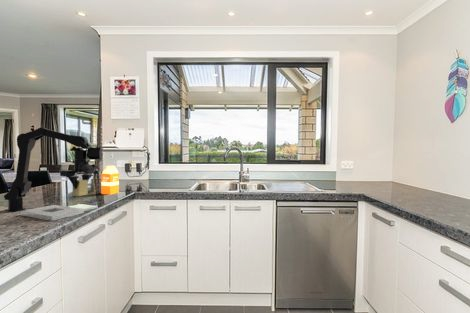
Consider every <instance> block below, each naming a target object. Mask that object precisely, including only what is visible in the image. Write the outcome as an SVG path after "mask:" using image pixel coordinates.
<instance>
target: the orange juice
mask: <svg viewBox="0 0 470 313" xmlns="http://www.w3.org/2000/svg"><path fill="white" fill-rule="evenodd" d="M119 180H120V172H119V171H118V169H117V168H116V166H115V165H107V166H105V168H104V169H103V170H102V173H101V182H100V183H101V186H100V187H101V190H100V191H101V195H115V194H119V193H120V191H119V190H120V186H119V185H120V181H119Z"/></svg>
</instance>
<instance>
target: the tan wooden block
mask: <svg viewBox="0 0 470 313" xmlns="http://www.w3.org/2000/svg"><path fill="white" fill-rule="evenodd" d="M88 187H89V180H84V179H82V178H81V179H77V189H74V187H73V186H72V196H78V197H80V196H85V195H88V192H89V191H88V190H89V188H88Z"/></svg>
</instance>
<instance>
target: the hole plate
mask: <svg viewBox="0 0 470 313" xmlns="http://www.w3.org/2000/svg"><path fill="white" fill-rule="evenodd" d="M84 213H85V212H84V209H79V208H72V207H68V206H65V205H58V204H52V205H46V206H40V207H36V208H35V207H34V208H29V209H25V210H20V216H23V217H29V218H34V219H40V220H45V221H51V222H52V221H57V220H60V219H65V218H69V217H73V216H76V215H81V214H84Z"/></svg>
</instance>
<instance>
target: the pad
mask: <svg viewBox="0 0 470 313" xmlns="http://www.w3.org/2000/svg"><path fill="white" fill-rule="evenodd" d="M67 207H72V208H79V209H84V211H85V212H86V211H89V210H93V209H97V206H96V205H91V204H82V203H80V204H79V203H78V204H75V205H69V206H67Z"/></svg>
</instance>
